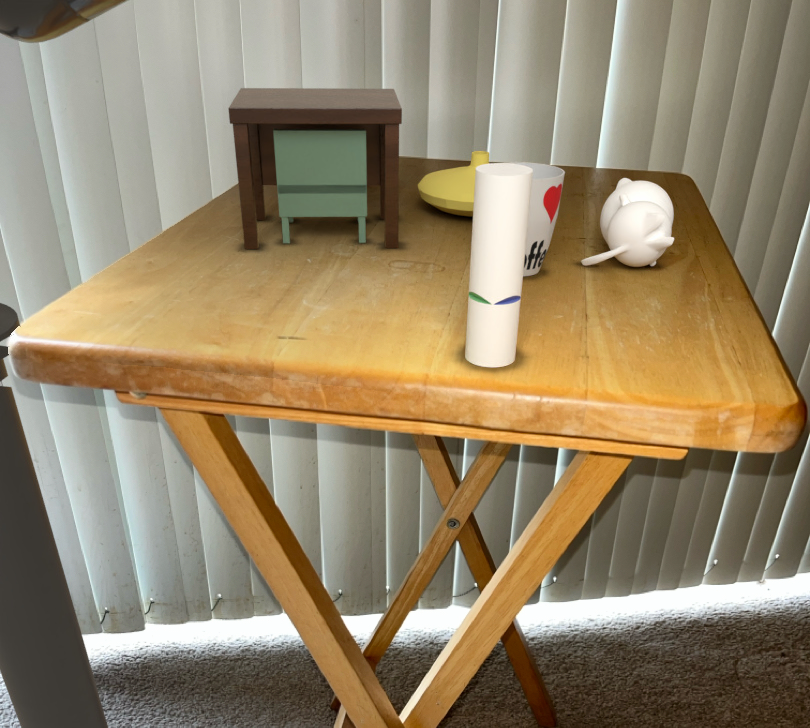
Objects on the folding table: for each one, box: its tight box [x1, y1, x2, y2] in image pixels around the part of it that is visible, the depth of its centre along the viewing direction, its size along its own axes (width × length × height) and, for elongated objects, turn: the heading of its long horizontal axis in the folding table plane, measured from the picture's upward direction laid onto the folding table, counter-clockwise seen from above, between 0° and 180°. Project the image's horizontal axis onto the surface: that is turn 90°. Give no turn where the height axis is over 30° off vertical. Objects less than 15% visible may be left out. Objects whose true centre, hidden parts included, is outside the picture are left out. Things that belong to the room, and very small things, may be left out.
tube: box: [464, 162, 533, 368], centre depth 67 cm, size 4×4×15 cm
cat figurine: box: [580, 177, 675, 268], centre depth 92 cm, size 9×11×12 cm
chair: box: [273, 129, 368, 244], centre depth 98 cm, size 10×10×12 cm
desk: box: [228, 87, 403, 250], centre depth 97 cm, size 14×18×14 cm
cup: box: [506, 161, 566, 277], centre depth 88 cm, size 8×8×10 cm
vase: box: [417, 150, 490, 217], centre depth 108 cm, size 16×16×7 cm
